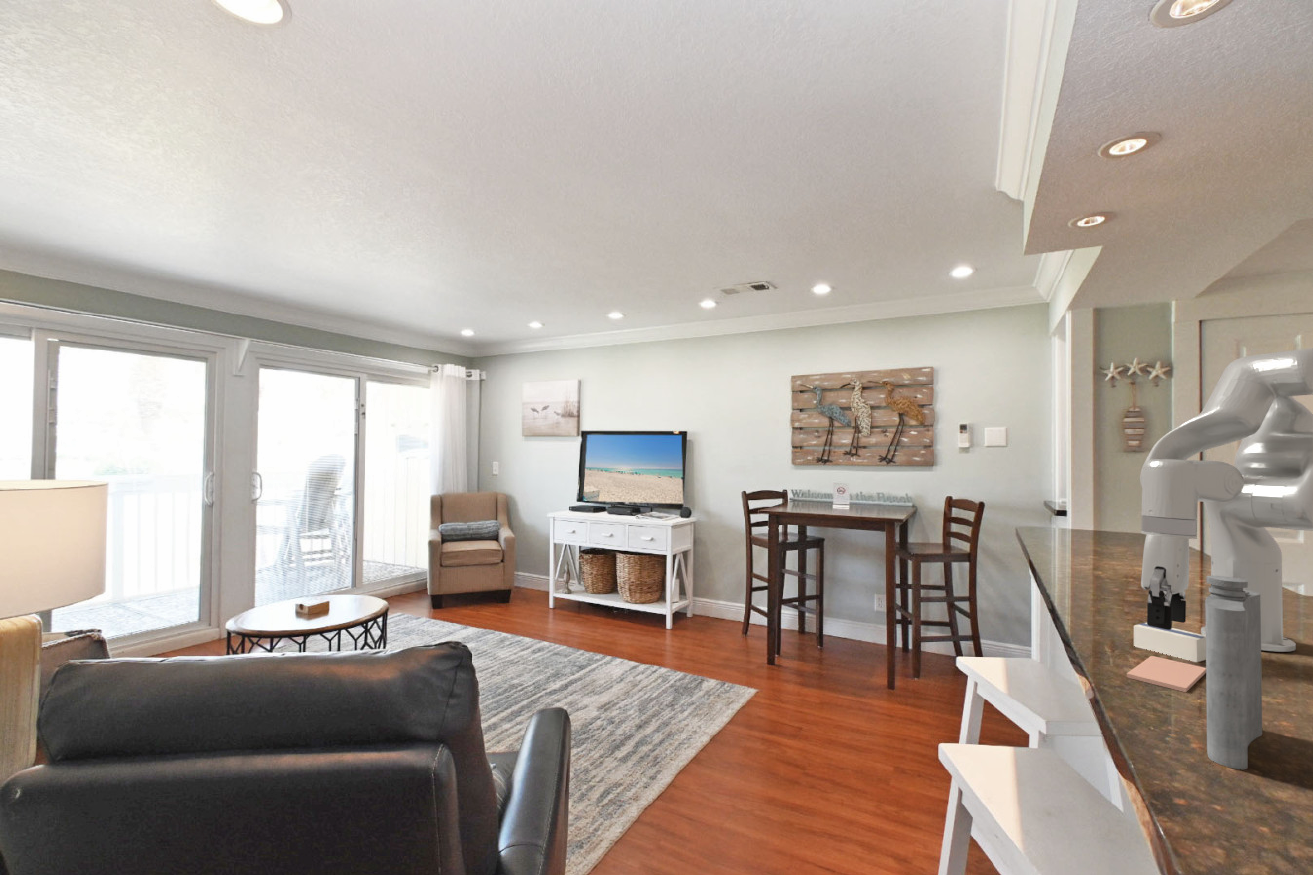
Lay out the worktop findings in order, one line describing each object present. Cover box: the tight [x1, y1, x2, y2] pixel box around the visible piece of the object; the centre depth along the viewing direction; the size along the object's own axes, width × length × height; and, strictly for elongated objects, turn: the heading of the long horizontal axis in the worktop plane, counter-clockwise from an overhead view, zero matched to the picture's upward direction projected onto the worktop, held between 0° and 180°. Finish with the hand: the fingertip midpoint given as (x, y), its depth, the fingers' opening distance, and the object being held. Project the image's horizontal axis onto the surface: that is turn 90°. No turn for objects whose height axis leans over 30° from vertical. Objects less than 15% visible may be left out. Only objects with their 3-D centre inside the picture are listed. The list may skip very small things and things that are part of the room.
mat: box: [1126, 655, 1206, 693], centre depth 92 cm, size 14×7×1 cm, turn 127°
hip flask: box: [1204, 575, 1263, 770], centre depth 70 cm, size 16×4×20 cm, turn 129°
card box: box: [1133, 622, 1206, 663], centre depth 103 cm, size 5×9×4 cm, turn 27°
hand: (1166, 624), depth 103 cm, fingers open, 9 cm apart
